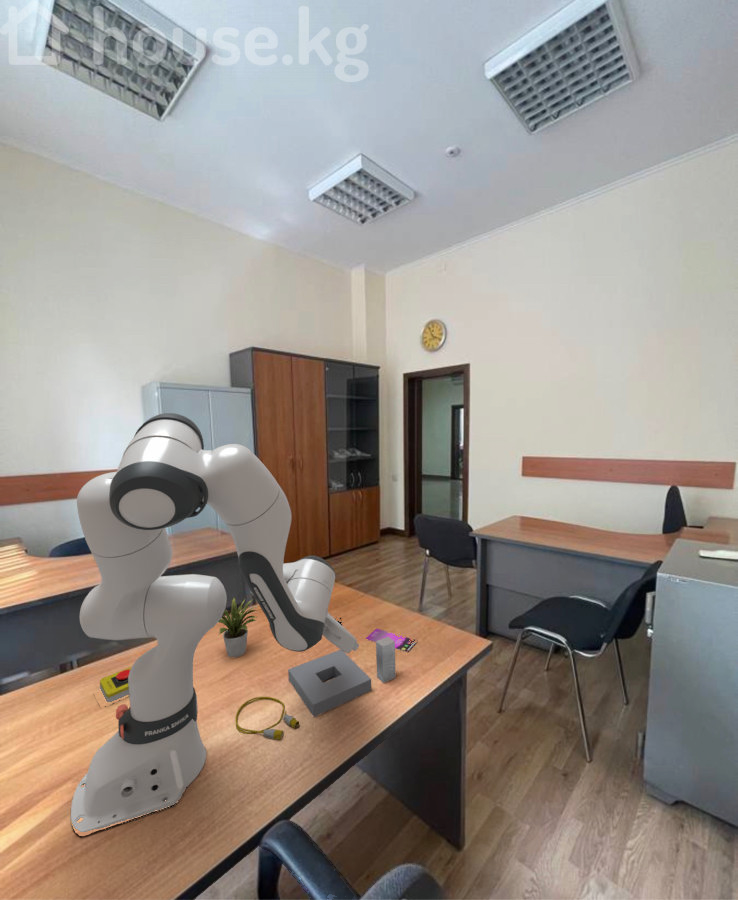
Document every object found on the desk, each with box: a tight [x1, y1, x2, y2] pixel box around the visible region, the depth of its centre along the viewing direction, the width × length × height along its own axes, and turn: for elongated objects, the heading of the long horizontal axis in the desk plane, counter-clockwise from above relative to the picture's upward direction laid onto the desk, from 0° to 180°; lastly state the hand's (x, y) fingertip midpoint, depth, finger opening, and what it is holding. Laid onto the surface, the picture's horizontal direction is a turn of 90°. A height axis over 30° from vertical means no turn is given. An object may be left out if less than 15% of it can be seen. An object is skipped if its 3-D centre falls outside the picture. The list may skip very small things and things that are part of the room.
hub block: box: [287, 649, 372, 718], centre depth 102 cm, size 16×16×3 cm
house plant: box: [218, 597, 260, 658], centre depth 116 cm, size 14×14×16 cm
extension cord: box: [235, 696, 300, 741], centre depth 90 cm, size 12×16×2 cm
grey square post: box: [375, 637, 397, 684], centre depth 104 cm, size 4×3×10 cm
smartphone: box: [365, 628, 417, 653], centre depth 122 cm, size 7×15×1 cm, turn 58°
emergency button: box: [99, 665, 133, 702], centre depth 104 cm, size 9×4×15 cm
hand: (346, 637), depth 97 cm, fingers open, 8 cm apart
